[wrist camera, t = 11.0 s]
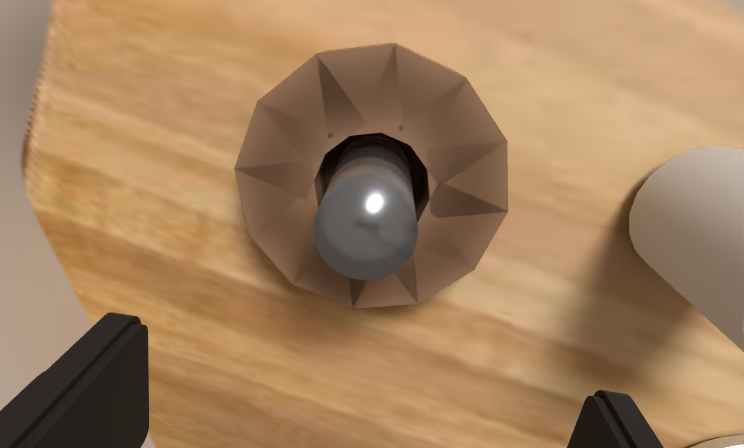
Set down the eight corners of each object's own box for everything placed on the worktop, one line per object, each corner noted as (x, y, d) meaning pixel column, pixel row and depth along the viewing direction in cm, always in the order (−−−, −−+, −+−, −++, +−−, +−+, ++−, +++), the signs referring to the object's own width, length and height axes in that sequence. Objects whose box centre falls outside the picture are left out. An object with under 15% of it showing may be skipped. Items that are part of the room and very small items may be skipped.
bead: (537, 197, 27) (557, 219, 24) (351, 313, 31) (346, 347, 27) (403, -12, 24) (405, -18, 21) (208, 145, 27) (183, 160, 24)
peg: (424, 179, 27) (438, 244, 19) (365, 218, 28) (355, 297, 20) (381, 120, 26) (376, 162, 18) (322, 163, 27) (292, 222, 19)
